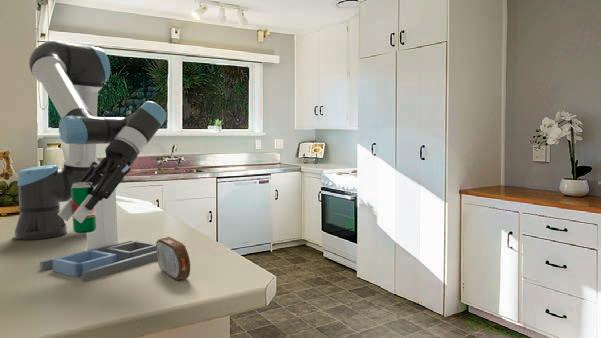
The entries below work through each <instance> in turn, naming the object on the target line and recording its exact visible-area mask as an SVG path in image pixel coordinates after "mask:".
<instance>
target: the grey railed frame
mask: <svg viewBox="0 0 601 338" xmlns="http://www.w3.org/2000/svg"><path fill="white" fill-rule="evenodd" d="M153 261H154V262H155V261H157V249H156V243H151V242H146V241H139V240H134V241H133V240H131V239H129V240H125V241H121V242H118V243H116V244H112V245H108V246H103V247H99V248H95V249H91V250H87V249H86V250H84V251H80V252H75V253H71V254H67V255H63V256H58V257H55V258H51V259H46V260H45V259H44V260H42V261H39V264H40V265H39V266H40V271H47V270H50V269H52V272H54V273H59V274H62V275H65V276H70V277H73V278H74V277H75V278H77V279H79V278H81V281H82V282H88V281H92V280H95V279H97V278H101V277H104V276H108V275H111V274H114V273H117V272H121V271H124V270H127V269H131V268H134V267H137V266H141V265H144V264H147V263H151V262H153Z"/></svg>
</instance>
